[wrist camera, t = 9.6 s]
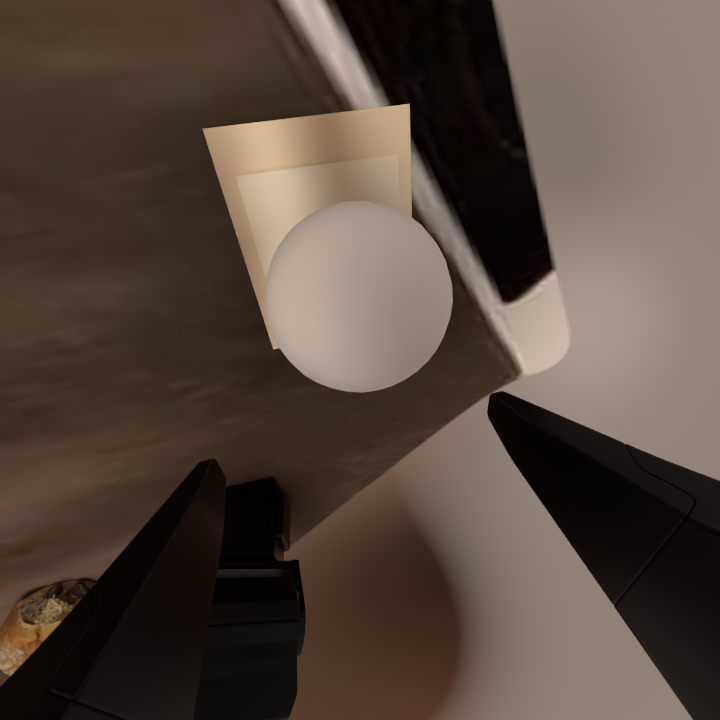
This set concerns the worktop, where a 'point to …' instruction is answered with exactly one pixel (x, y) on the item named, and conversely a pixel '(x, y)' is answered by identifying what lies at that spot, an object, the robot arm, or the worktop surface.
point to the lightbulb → (358, 296)
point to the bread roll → (36, 620)
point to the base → (307, 174)
